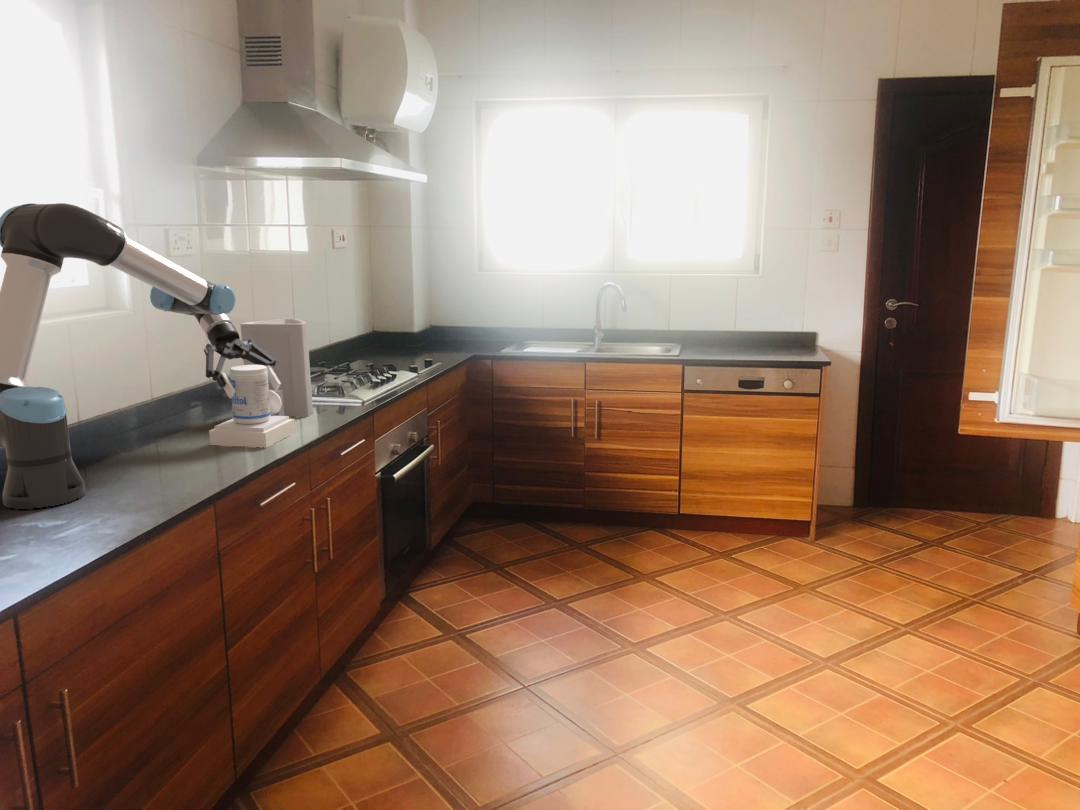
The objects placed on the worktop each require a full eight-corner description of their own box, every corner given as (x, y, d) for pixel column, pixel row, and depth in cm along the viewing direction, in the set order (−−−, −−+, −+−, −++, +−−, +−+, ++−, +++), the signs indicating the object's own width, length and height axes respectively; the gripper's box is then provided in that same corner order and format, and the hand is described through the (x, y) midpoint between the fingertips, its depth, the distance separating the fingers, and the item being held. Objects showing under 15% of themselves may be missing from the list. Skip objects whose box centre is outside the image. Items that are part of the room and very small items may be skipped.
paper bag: (325, 406, 265) (319, 318, 259) (307, 417, 250) (301, 324, 244) (268, 405, 267) (261, 318, 261) (247, 416, 253) (239, 324, 247)
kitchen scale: (266, 447, 216) (263, 404, 214) (210, 445, 219) (206, 402, 216) (303, 428, 236) (300, 388, 234) (251, 426, 239) (248, 387, 237)
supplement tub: (225, 423, 221) (220, 369, 218) (248, 415, 230) (244, 363, 227) (256, 426, 218) (252, 371, 215) (278, 418, 227) (274, 365, 224)
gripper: (255, 334, 238) (290, 392, 232) (171, 344, 219) (207, 407, 213) (265, 317, 234) (301, 375, 228) (180, 325, 215) (217, 389, 209)
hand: (256, 391), depth 221 cm, fingers open, 13 cm apart
